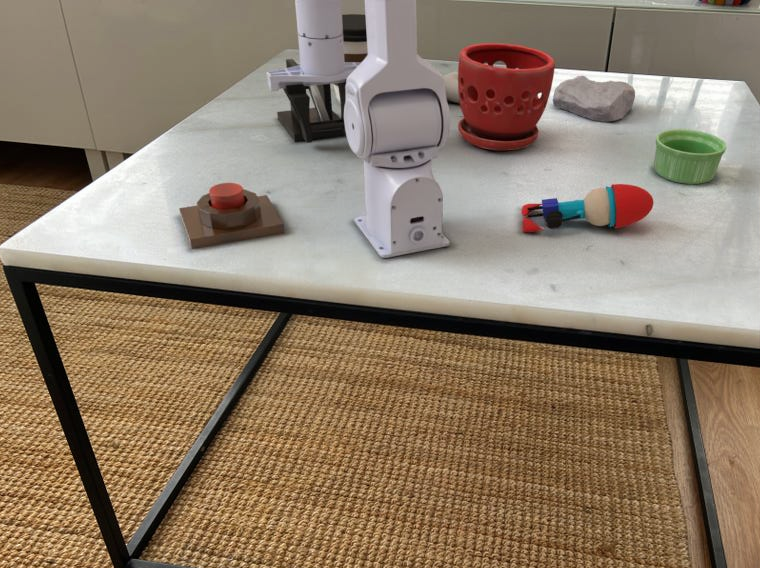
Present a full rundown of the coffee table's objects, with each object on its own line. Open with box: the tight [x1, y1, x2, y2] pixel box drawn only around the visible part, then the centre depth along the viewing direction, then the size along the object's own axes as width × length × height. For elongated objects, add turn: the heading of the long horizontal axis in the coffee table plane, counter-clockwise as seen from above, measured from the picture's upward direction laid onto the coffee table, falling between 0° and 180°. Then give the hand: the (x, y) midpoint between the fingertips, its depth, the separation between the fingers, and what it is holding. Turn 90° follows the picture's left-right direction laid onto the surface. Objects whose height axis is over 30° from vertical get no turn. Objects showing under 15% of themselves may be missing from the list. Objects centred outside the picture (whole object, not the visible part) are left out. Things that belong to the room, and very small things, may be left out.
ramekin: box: [653, 128, 727, 185], centre depth 96 cm, size 9×9×4 cm
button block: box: [178, 188, 286, 250], centre depth 80 cm, size 10×8×3 cm
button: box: [208, 182, 245, 210], centre depth 79 cm, size 4×4×2 cm
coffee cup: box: [332, 13, 368, 105], centre depth 112 cm, size 11×11×12 cm
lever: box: [298, 61, 345, 132], centre depth 100 cm, size 11×5×2 cm, turn 24°
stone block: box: [552, 75, 636, 123], centre depth 116 cm, size 12×5×10 cm
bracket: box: [276, 58, 346, 143], centre depth 103 cm, size 10×8×9 cm
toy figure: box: [521, 183, 655, 233], centre depth 83 cm, size 8×5×15 cm
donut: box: [443, 70, 460, 105], centre depth 118 cm, size 10×4×10 cm
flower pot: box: [457, 42, 556, 152], centre depth 101 cm, size 13×13×12 cm
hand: (327, 137), depth 100 cm, fingers closed on lever, 5 cm apart
